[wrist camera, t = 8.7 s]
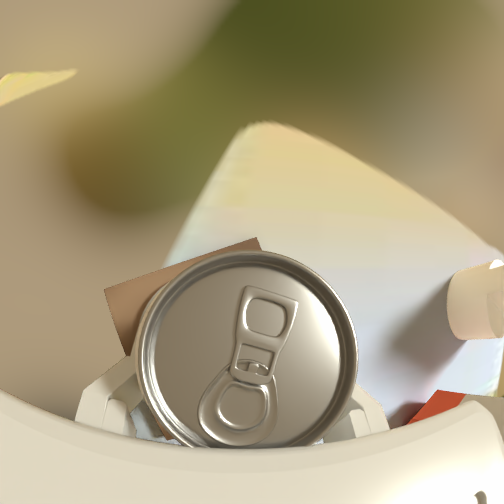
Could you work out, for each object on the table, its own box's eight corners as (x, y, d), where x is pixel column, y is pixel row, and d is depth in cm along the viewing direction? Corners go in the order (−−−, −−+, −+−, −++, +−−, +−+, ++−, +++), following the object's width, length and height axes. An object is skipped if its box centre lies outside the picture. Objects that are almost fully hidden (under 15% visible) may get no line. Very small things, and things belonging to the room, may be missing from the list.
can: (153, 386, 15) (92, 436, 4) (182, 296, 18) (175, 201, 7) (248, 413, 16) (338, 485, 5) (272, 325, 19) (383, 276, 8)
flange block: (308, 379, 20) (316, 383, 18) (167, 435, 16) (166, 443, 15) (253, 240, 22) (258, 234, 20) (107, 290, 18) (101, 288, 17)
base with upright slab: (483, 289, 27) (549, 272, 16) (471, 349, 25) (544, 344, 13) (453, 256, 27) (529, 229, 15) (439, 324, 24) (528, 313, 13)
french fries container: (415, 467, 19) (527, 506, 2) (393, 415, 20) (548, 451, 3) (439, 442, 21) (550, 465, 4) (421, 386, 22) (569, 397, 5)
